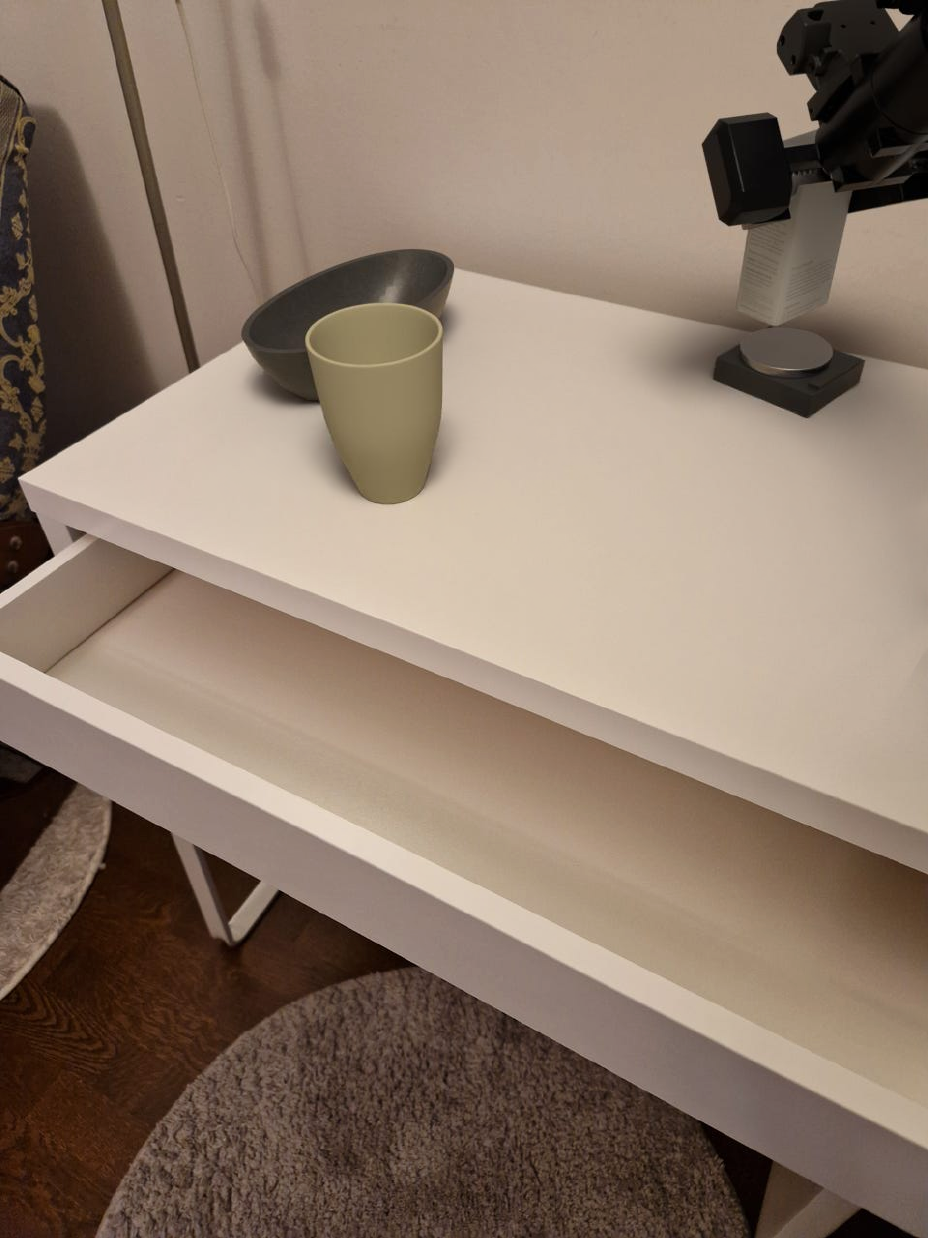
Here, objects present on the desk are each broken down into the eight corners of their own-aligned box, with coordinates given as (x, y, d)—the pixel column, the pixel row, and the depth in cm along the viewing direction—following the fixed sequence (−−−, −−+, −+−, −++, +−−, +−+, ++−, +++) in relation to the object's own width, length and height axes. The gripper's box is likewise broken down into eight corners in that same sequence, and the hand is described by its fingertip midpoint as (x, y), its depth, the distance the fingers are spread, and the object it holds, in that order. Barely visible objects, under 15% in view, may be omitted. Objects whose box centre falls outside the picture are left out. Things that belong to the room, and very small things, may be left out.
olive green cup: (484, 470, 72) (479, 318, 64) (395, 537, 67) (377, 380, 59) (377, 425, 77) (360, 279, 69) (286, 483, 72) (256, 332, 64)
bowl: (220, 397, 82) (203, 329, 78) (393, 301, 94) (386, 237, 90) (322, 442, 76) (310, 370, 72) (492, 333, 88) (490, 266, 84)
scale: (859, 382, 79) (868, 350, 77) (807, 418, 75) (814, 386, 74) (765, 346, 84) (771, 316, 82) (712, 379, 80) (717, 348, 79)
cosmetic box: (784, 289, 77) (814, 124, 69) (831, 307, 74) (867, 138, 66) (731, 311, 75) (755, 143, 67) (776, 331, 72) (808, 158, 64)
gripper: (1026, -63, 57) (876, 96, 73) (736, -32, 55) (644, 127, 70) (1070, 117, 57) (910, 238, 72) (780, 158, 54) (678, 275, 70)
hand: (787, 216), depth 71 cm, fingers closed on cosmetic box, 7 cm apart
